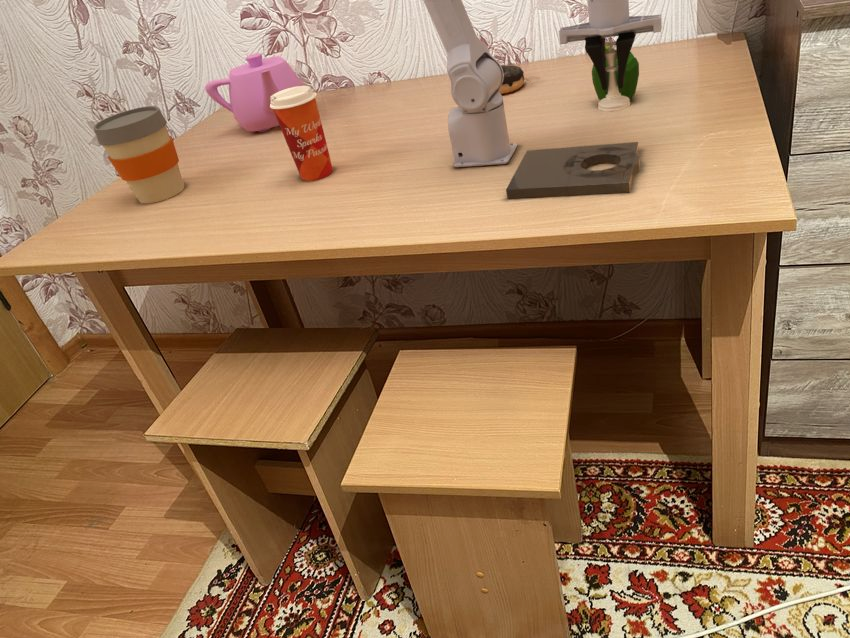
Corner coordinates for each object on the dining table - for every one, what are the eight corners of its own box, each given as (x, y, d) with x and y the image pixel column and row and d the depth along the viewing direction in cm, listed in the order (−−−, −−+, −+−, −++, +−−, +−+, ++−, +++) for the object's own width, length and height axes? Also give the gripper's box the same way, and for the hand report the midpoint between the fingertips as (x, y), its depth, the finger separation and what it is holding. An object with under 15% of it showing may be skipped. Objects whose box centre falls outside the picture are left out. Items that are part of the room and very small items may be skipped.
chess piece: (630, 109, 105) (627, 39, 99) (597, 113, 107) (592, 44, 101) (630, 98, 109) (627, 31, 103) (598, 102, 110) (594, 36, 105)
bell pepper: (647, 93, 131) (645, 37, 125) (630, 108, 125) (627, 51, 120) (605, 93, 135) (601, 39, 129) (587, 108, 130) (582, 52, 124)
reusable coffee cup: (155, 210, 129) (117, 131, 120) (116, 204, 136) (78, 129, 127) (206, 181, 137) (174, 105, 128) (167, 177, 144) (134, 105, 135)
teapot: (220, 129, 166) (194, 64, 158) (304, 103, 171) (284, 39, 162) (231, 154, 148) (203, 82, 140) (325, 125, 153) (303, 53, 144)
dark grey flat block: (507, 198, 104) (505, 189, 103) (527, 158, 115) (526, 150, 115) (634, 192, 98) (634, 182, 97) (643, 150, 109) (643, 141, 108)
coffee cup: (302, 187, 124) (273, 104, 116) (290, 175, 131) (262, 95, 122) (345, 172, 127) (320, 88, 118) (331, 161, 133) (307, 81, 124)
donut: (526, 91, 145) (524, 72, 143) (471, 102, 146) (467, 83, 144) (524, 77, 154) (521, 58, 152) (471, 87, 155) (468, 69, 153)
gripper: (551, 3, 98) (561, 100, 105) (658, -12, 93) (660, 90, 101) (560, -8, 103) (568, 85, 111) (661, -23, 98) (663, 75, 106)
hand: (613, 87), depth 106 cm, fingers closed on chess piece
